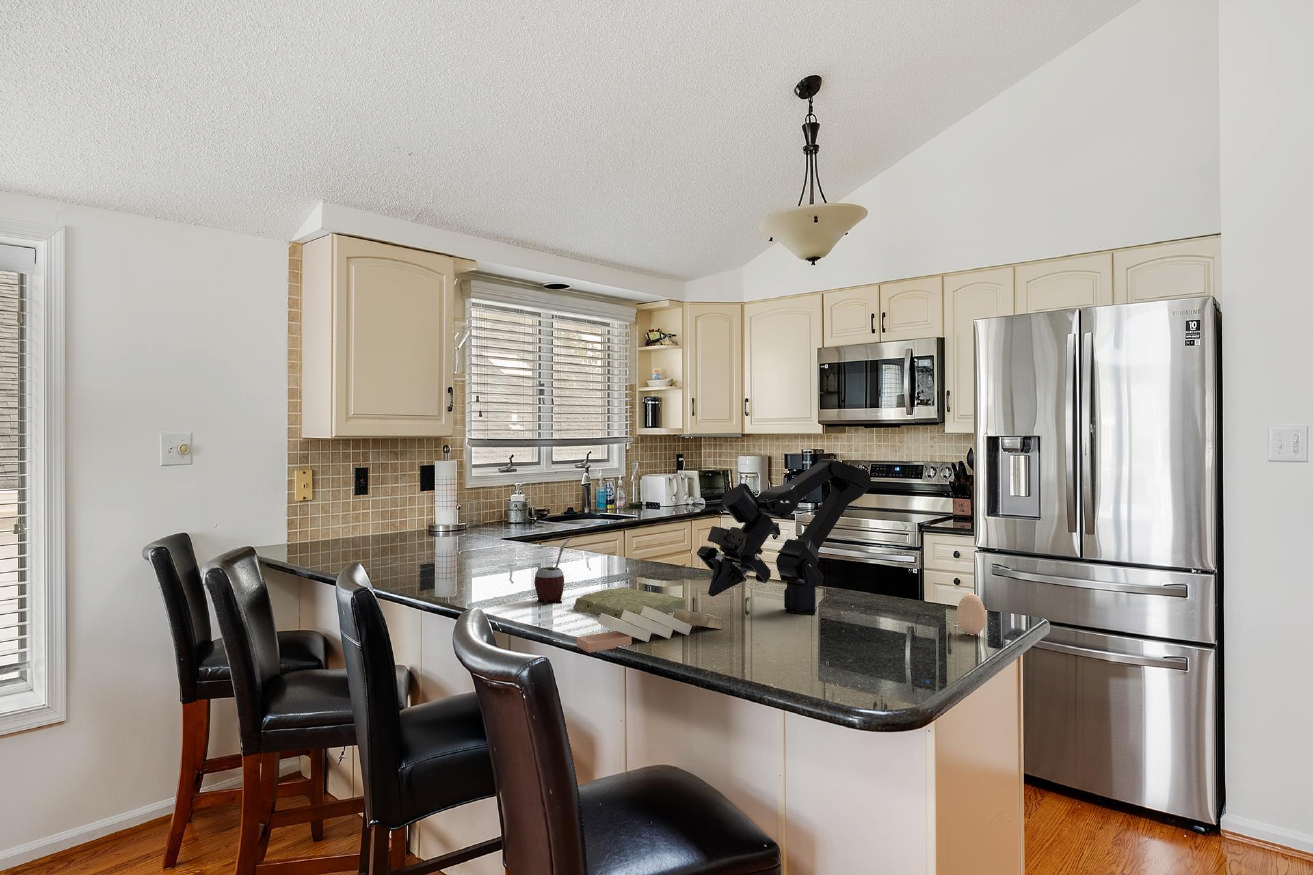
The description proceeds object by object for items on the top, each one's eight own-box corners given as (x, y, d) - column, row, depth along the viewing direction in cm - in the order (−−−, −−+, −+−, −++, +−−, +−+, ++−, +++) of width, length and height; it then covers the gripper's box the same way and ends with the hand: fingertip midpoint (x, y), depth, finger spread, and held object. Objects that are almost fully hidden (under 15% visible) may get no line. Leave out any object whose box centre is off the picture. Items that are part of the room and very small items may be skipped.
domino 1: (618, 630, 140) (576, 637, 135) (631, 636, 135) (588, 643, 131) (618, 640, 140) (576, 647, 135) (631, 646, 135) (588, 654, 131)
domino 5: (708, 614, 151) (674, 608, 147) (723, 619, 147) (689, 613, 142) (706, 623, 151) (672, 618, 146) (721, 629, 147) (687, 623, 142)
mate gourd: (529, 604, 169) (529, 540, 169) (543, 597, 177) (543, 536, 177) (559, 606, 167) (559, 541, 167) (571, 599, 175) (571, 537, 175)
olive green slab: (620, 598, 178) (620, 584, 178) (687, 610, 165) (687, 594, 165) (566, 613, 163) (566, 597, 163) (635, 627, 151) (635, 610, 151)
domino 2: (638, 626, 142) (601, 612, 138) (651, 631, 138) (613, 617, 133) (634, 636, 141) (597, 622, 137) (648, 642, 137) (609, 628, 133)
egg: (983, 640, 138) (983, 597, 138) (954, 636, 141) (954, 594, 141) (987, 633, 143) (987, 592, 143) (959, 630, 146) (959, 589, 146)
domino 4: (677, 620, 147) (644, 605, 142) (691, 625, 142) (658, 610, 138) (673, 629, 146) (640, 615, 142) (688, 635, 142) (654, 620, 138)
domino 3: (659, 623, 144) (624, 609, 140) (673, 628, 140) (637, 614, 136) (655, 633, 144) (620, 619, 140) (669, 638, 140) (633, 624, 135)
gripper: (703, 508, 159) (661, 563, 153) (759, 516, 144) (716, 577, 137) (731, 541, 163) (692, 596, 157) (789, 552, 148) (747, 613, 142)
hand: (710, 595), depth 148 cm, fingers closed
